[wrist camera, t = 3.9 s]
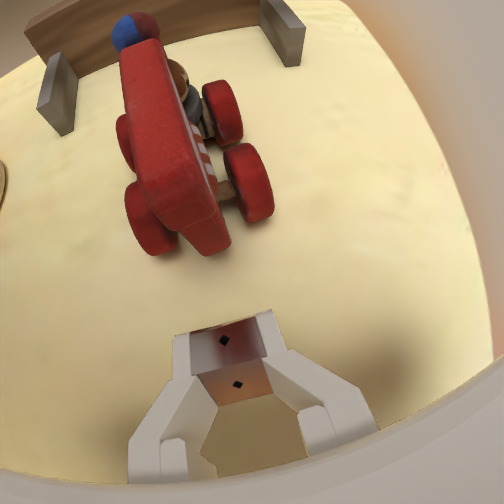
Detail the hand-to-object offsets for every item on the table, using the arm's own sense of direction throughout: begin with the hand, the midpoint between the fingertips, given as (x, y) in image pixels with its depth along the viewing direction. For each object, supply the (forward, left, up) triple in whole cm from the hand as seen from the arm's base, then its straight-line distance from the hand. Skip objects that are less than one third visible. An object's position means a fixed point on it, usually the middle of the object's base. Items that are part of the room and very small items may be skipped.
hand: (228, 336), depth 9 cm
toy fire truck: (-5, +8, -7) cm, 12 cm away
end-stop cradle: (-11, +19, -7) cm, 23 cm away
